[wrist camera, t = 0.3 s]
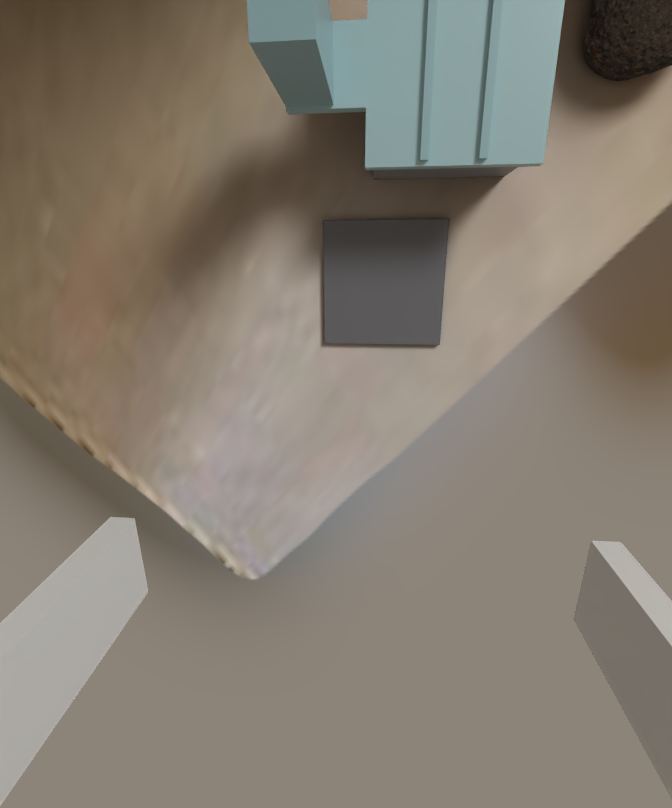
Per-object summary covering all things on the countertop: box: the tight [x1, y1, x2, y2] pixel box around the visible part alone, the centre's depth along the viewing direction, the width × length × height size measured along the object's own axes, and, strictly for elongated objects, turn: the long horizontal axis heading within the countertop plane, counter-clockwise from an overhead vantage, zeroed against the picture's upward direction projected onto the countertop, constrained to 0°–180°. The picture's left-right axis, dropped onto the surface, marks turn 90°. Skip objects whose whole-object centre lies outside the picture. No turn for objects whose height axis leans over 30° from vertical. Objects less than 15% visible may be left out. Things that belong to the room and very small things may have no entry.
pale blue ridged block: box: [247, 0, 565, 170], centre depth 22 cm, size 11×16×9 cm
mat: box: [323, 219, 449, 345], centre depth 35 cm, size 10×10×1 cm
